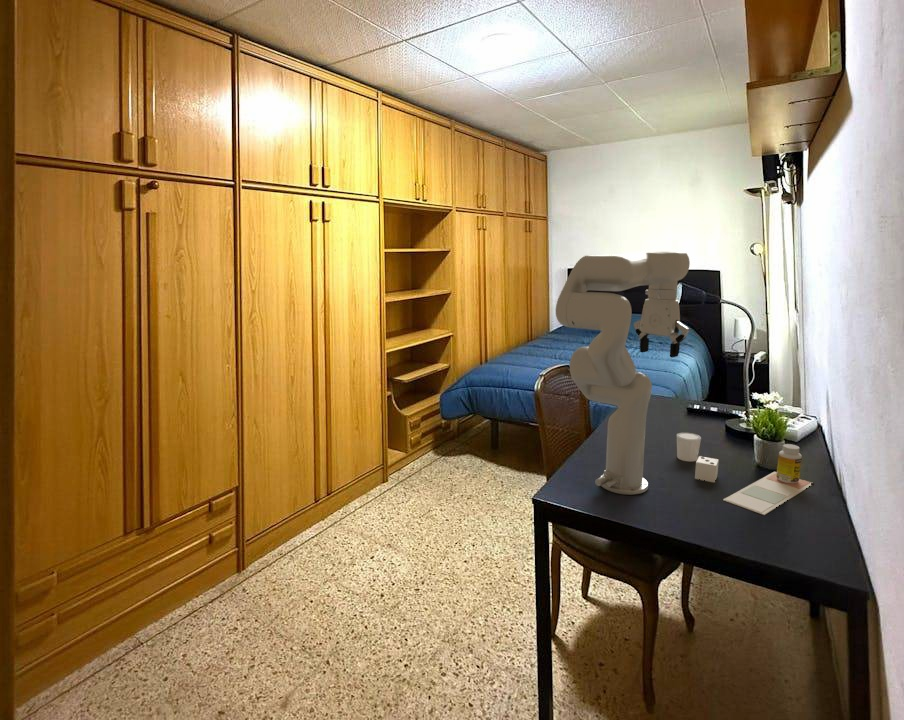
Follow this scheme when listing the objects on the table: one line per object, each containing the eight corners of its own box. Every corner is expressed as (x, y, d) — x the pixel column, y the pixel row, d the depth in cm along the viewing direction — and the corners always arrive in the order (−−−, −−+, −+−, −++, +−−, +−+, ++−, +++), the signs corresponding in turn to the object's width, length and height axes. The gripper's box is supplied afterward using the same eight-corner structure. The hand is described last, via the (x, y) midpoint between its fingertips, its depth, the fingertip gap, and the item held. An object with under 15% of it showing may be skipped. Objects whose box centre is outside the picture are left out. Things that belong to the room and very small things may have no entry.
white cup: (702, 462, 162) (703, 440, 161) (677, 461, 163) (679, 439, 162) (696, 454, 169) (698, 432, 167) (672, 453, 170) (674, 431, 168)
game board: (764, 515, 130) (764, 514, 130) (722, 500, 138) (723, 499, 138) (813, 483, 147) (813, 482, 147) (774, 472, 155) (774, 471, 155)
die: (714, 482, 149) (716, 465, 148) (694, 478, 151) (696, 461, 150) (717, 476, 153) (718, 459, 152) (697, 472, 155) (699, 455, 154)
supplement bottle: (794, 486, 145) (798, 451, 143) (772, 480, 149) (776, 446, 147) (801, 480, 148) (806, 446, 146) (780, 474, 152) (784, 441, 150)
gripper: (628, 294, 160) (625, 351, 164) (683, 297, 146) (678, 360, 150) (643, 292, 164) (640, 348, 168) (698, 296, 151) (693, 357, 154)
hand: (658, 354), depth 159 cm, fingers open, 9 cm apart
